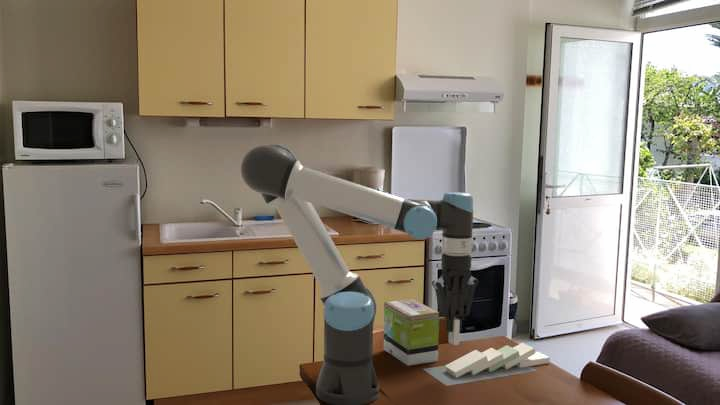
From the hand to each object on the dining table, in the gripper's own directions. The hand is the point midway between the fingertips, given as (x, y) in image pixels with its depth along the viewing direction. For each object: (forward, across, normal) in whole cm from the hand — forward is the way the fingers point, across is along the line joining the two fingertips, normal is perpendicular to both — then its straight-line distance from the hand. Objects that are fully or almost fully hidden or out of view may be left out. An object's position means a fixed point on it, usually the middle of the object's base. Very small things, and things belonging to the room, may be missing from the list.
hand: (453, 343), depth 154 cm
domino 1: (+8, -1, 0) cm, 8 cm away
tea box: (+9, -4, +17) cm, 20 cm away
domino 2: (+8, +4, 0) cm, 9 cm away
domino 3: (+8, +15, 0) cm, 17 cm away
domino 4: (+8, +20, 0) cm, 21 cm away
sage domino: (+8, +10, 0) cm, 12 cm away
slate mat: (+9, +8, 0) cm, 12 cm away
